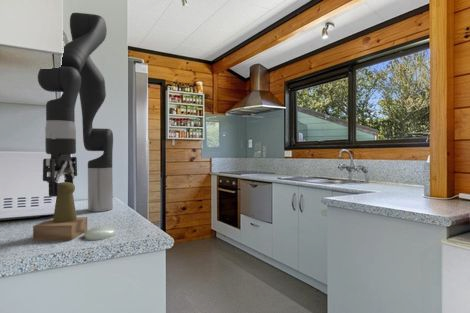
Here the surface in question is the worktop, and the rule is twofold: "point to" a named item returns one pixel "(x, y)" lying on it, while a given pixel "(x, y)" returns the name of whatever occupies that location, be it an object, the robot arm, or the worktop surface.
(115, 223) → the worktop surface
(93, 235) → the white domed disc
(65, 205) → the olive stamp handle
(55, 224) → the walnut plinth
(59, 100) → the robot arm
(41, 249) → the worktop surface
